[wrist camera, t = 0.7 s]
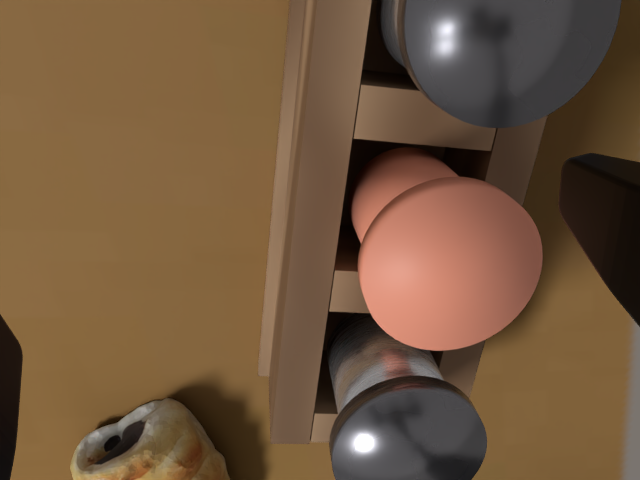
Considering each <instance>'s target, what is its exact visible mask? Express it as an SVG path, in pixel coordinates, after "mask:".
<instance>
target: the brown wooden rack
mask: <svg viewBox="0 0 640 480" xmlns="http://www.w3.org/2000/svg"><path fill="white" fill-rule="evenodd" d="M376 6H377V0H290V5H289V17H288V28H287V40H286V51H285V63H284V74H283V86H282V97H281V109H280V120H279V132H278V143H277V155H276V166H275V178H274V189H273V201H272V212H271V224H270V235H269V247H268V258H267V270H266V281H265V293H264V304H263V316H262V327H261V339H260V350H259V362H258V376H269V405H270V436H271V444H309V442H310V440H311V442H329V440H330V433H331V429H332V426H333V424H334V421H335V419H336V418H337V416H338V411H337V406H336V401H335V395H334V390H333V385H332V380H331V375H330V370H329V365H328V359H327V345H328V341H329V338H330V336H331V334H332V332H333V331H334V329H335V328H336V327H337V326H338V325H339V323H340V322H342V321H343V320H344V319H345V318H347V317H348V316H350V315H351V314H353V313H370V311H369V309H368V307H367V304H366V301H365V299H364V296H363V293H362V290H361V287H360V283H359V278H358V267H357V266H358V255H359V251H360V247H361V243H360V240H359V238H358V236H357V233H356V231H355V228H354V226H353V224H352V221H351V218H350V215H349V208H348V200H349V193H350V189H351V186H352V183H353V181H354V180H355V178H356V176H357V174H358V173H359V171H360V170H361V169H362V168H363V167H364V166H365V165H366V164H367V163H368V162H369V161H370V160H372V159H373V158H374V157H376V156H378V155H379V154H381V153H383V152H386V151H389V150H392V149H396V148H404V147H410V148H418V149H422V150H425V151H428V152H430V153H432V154H433V155H435V156H436V157H438V158H439V159H440V160H441V161H442V162H444V163H445V164H446V165H447V166H448V167H449V168H450V169H451V170H452V171H453V172H455V173H456V174H457V175H458V176H459V177H468V178H474V179H478V180H481V181H485V182H487V183H489V184H491V185H494V186H496V187H497V188H499V189H500V190H502V191H503V192H505V193H506V194H507V195H508V196H510V197H511V198H512V199H513V200H515V201H516V202H517V203H518V204H519V205H520V206H521V207H522V206H523V203H524V199H525V196H526V192H527V188H528V185H529V181H530V178H531V174H532V170H533V167H534V163H535V160H536V156H537V152H538V149H539V145H540V142H541V138H542V134H543V131H544V127H545V124H546V120H547V116H548V115H546V116H544V117H542V118H540V119H538V120H535V121H533V122H530V123H527V124H523V125H519V126H515V127H507V128H487V127H481V126H475V125H472V124H469V123H466V122H463V121H461V120H459V119H457V118H455V117H453V116H451V115H450V114H448V113H446V112H445V111H443V110H442V109H440V108H439V107H437V106H436V105H434V104H433V103H432V102H431V101H430V100H428V99H427V98H426V97H425V96H424V95H423V94H422V93H421V91H420V90H419V89H418V88H417V86H416V85H415V84H414V82H413V80H412V79H411V77H410V75H409V74H408V71H407V69H406V68H405V67H403V66H402V65H400V64H399V63H398V62H397V61H396V60H394V59H393V58H392V56H391V55H390V54H389V53H388V51H387V50H386V48H385V46H384V45H383V43H382V40H381V38H380V35H379V32H378V28H377V21H376ZM485 340H486V339H485ZM485 340H483V341H481V342H479V343H476V344H473V345H470V346H467V347H463V348H459V349H453V350H442V351H434V350H430V352H431V354H432V356H433V358H434V361H435V363H436V365H437V367H438V369H439V371H440V373H441V375H442V377H443V379H444V381H447V382H449V383H451V384H453V385H454V386H456V387H457V388H459V389H460V390H461V391H462V392H464V393H465V394H466V395H467V397H468V398H469V397H470V394H471V390H472V386H473V383H474V379H475V376H476V372H477V368H478V365H479V361H480V358H481V354H482V350H483V347H484V343H485Z"/></svg>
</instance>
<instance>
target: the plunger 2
mask: <svg viewBox="0 0 640 480" xmlns="http://www.w3.org/2000/svg"><path fill="white" fill-rule="evenodd" d="M620 7H621V0H377V6H376V21H377V28H378V32H379V35H380V38H381V40H382V43H383V45H384V46H385V48H386V50H387V51H388V53H389V54H390V55H391V56H392V58H393V59H394V60H396V61H397V62H398V63H399V64H400V65H402V66H403V67H405V68H406V69H407V71H408V74H409V75H410V77H411V79H412V80H413V82H414V84H415V85H416V86H417V88H418V89H419V90H420V91H421V93H422V94H423V95H424V96H425V97H426V98H427V99H428V100H430V101H431V102H432V103H433V104H434V105H436V106H437V107H439V108H440V109H442V110H443V111H445V112H446V113H448V114H450V115H451V116H453V117H455V118H457V119H459V120H461V121H463V122H466V123H469V124H472V125H475V126H481V127H487V128H507V127H515V126H519V125H523V124H527V123H530V122H533V121H535V120H538V119H540V118H542V117H544V116H546V115H548V114H550V113H552V112H554V111H555V110H557V109H558V108H560V107H561V106H563V105H564V104H565V103H567V102H568V101H569V100H570V99H571V98H573V97H574V96H575V95H576V94H577V93H578V92H579V91H580V90H581V89H582V88H583V87H584V86H585V85H586V83H587V82H588V81H589V80H590V78H591V77H592V76H593V74H594V73H595V72H596V70H597V69H598V67H599V65H600V64H601V62H602V61H603V59H604V57H605V55H606V53H607V51H608V49H609V47H610V44H611V42H612V39H613V36H614V33H615V31H616V27H617V23H618V19H619V14H620Z"/></svg>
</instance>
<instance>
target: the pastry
mask: <svg viewBox="0 0 640 480" xmlns="http://www.w3.org/2000/svg"><path fill="white" fill-rule="evenodd" d="M70 470H71V472H72V476H73V480H230V477H229V475H228V473H227V469H226V463H225V458H224V457H223V455H222V454H221V453H220V452H218V451H217V450H216V449H215V447H214V445H213V443H212V441H211V440H210V439H209V437H208V436H207V434H206V432H205V431H204V428H203V427H202V425H201V424H200V423H199V422H198V420H197V419H196V418H195V417H194V416H193V414H192V413H191V411H190V410H188V409H187V408H186V407H185V406H184V405H183V404H182V403H180V402H178V401H176V400H174V399H170V398H166V399H164V400H162V401H157V400H156V401H152V402H149V403H147V404H144V405H142V406H140V407H138V408H137V409H135V410H134V411H133V412H131V413H129V414H127V415H126V416H125V417H124V418H122V419H121V420H120V421H119V422H117V423H115V424H111V425H107V426H104V427H101V428H99V429H97V430H95V431H93V432H91V433H89V434H88V435H86V436H85V438H84V439H83V440H82V441H81V442H80V444H79V445H78V446H77V448H76V450H75V452H74V455H73V458H72V461H71V465H70Z"/></svg>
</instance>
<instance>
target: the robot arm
mask: <svg viewBox="0 0 640 480" xmlns="http://www.w3.org/2000/svg"><path fill="white" fill-rule="evenodd" d="M559 211H560V214H561V216H562V218H563V220H564V222H565V223H566V225H567V226H568V228H569V229H570V231H571V232H572V234H573V235H574V237H575V239H576V240H577V242H578V243H579V245H580V246H581V248H582V249H583V251H584V252H585V254H586V255H587V257H588V259H589V260H590V262H591V263H592V265H593V266H594V268H595V269H596V271H597V272H598V274H599V275H600V277H601V278H602V280H603V281H604V283H605V284H606V286H607V287H608V288H609V290H610V291H611V292H612V293H613V295H614V296H615V297H616V299H617V300H618V301H619V302H620V304H621V305H622V306H623V307H624V308H625V310H626V311H627V312H628V313H629V314H630V316H631V317H632V318H633V319H634V321H635V322H636V323H637V324H638V325H639V327H640V162H635V161H630V160H625V159H620V158H615V157H610V156H605V155H600V154H594V153H589V154H584V155H580V156H576V157H573V158H569V159H568V160H566V161H565V163H564V165H563V167H562V174H561V184H560V194H559ZM22 360H23V355H22V349H21V346H20V344H19V342H18V340H17V339H16V337H15V336H14V334H13V333H12V331H11V330H10V328H9V327H8V325H7V324H6V322H5V321H4V319H3V318H2V316H1V315H0V480H10V477H11V471H12V466H13V461H14V455H15V449H16V440H17V430H18V416H19V402H20V388H21V374H22Z"/></svg>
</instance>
